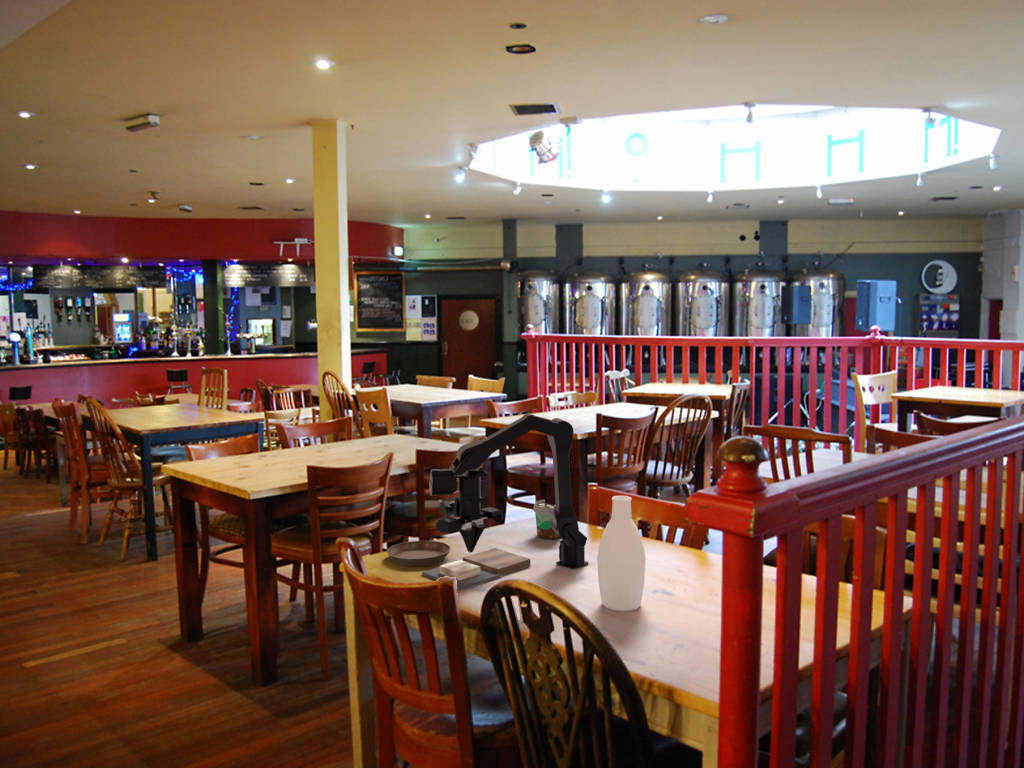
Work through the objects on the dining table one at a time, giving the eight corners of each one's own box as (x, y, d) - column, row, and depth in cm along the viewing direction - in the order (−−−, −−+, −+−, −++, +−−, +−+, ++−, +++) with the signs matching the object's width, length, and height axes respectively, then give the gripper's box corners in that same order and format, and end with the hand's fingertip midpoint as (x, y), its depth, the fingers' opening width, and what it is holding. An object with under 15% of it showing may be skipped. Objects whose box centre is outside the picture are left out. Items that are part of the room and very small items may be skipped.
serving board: (530, 566, 214) (530, 558, 214) (497, 576, 206) (497, 569, 205) (495, 555, 224) (495, 548, 224) (462, 564, 216) (462, 557, 216)
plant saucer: (378, 555, 225) (378, 545, 225) (436, 546, 234) (436, 536, 233) (399, 573, 210) (399, 562, 210) (460, 563, 218) (460, 552, 218)
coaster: (480, 574, 205) (480, 566, 205) (459, 580, 200) (459, 572, 200) (460, 567, 211) (460, 559, 211) (439, 573, 206) (439, 565, 206)
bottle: (613, 592, 193) (613, 490, 191) (654, 603, 186) (655, 496, 184) (588, 606, 184) (587, 498, 182) (629, 617, 177) (630, 505, 175)
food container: (526, 533, 246) (526, 501, 245) (544, 530, 249) (543, 499, 248) (544, 543, 235) (544, 510, 234) (563, 540, 238) (562, 507, 237)
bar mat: (500, 577, 205) (500, 574, 205) (461, 589, 196) (461, 586, 196) (460, 563, 216) (460, 560, 216) (422, 574, 208) (422, 571, 207)
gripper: (476, 483, 219) (476, 538, 220) (422, 494, 206) (423, 553, 207) (503, 489, 211) (504, 547, 212) (449, 501, 198) (450, 562, 199)
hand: (470, 552), depth 208 cm, fingers closed
